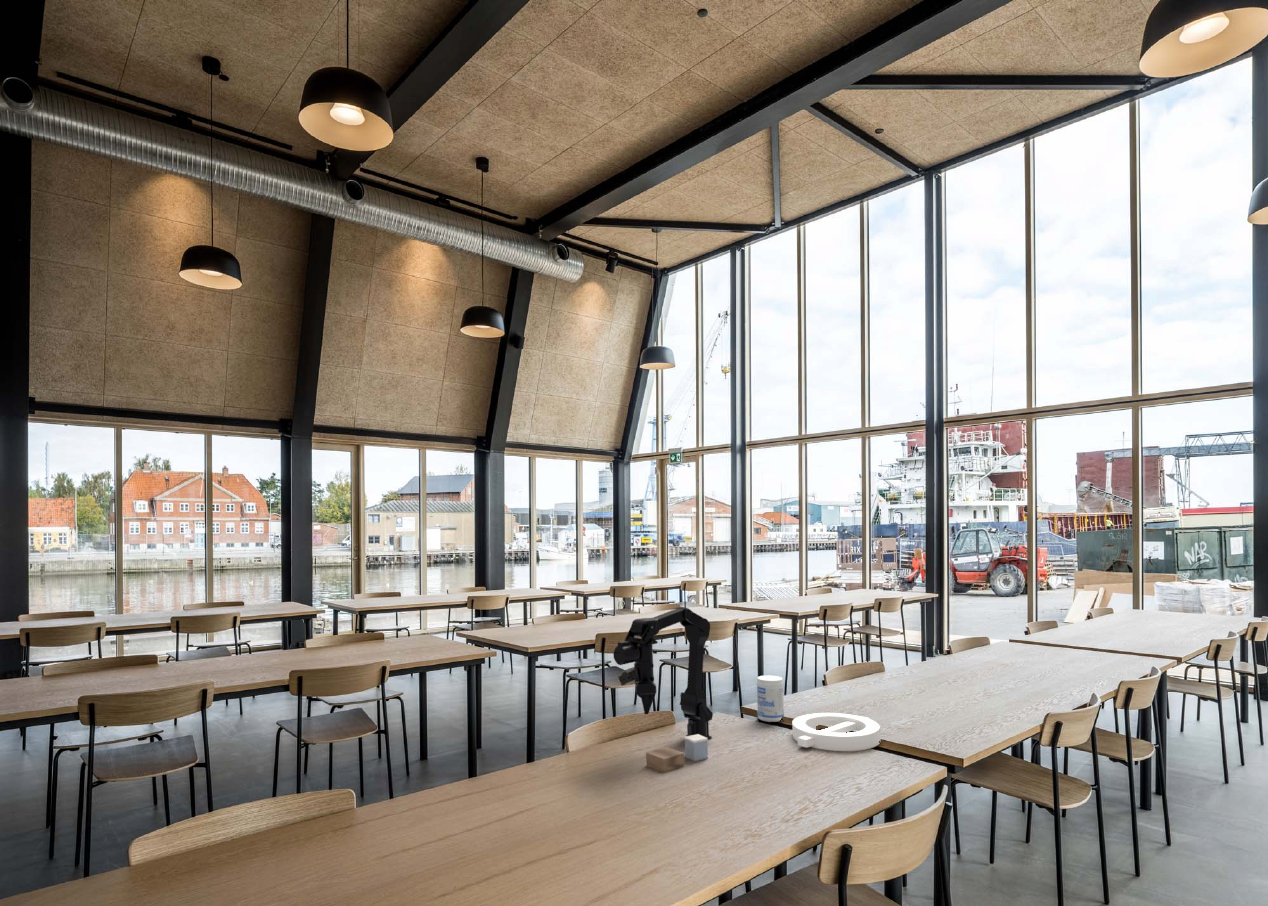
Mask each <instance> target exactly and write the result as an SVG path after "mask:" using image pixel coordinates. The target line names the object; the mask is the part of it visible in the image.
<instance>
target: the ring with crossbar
mask: <svg viewBox="0 0 1268 906" xmlns="http://www.w3.org/2000/svg"><path fill="white" fill-rule="evenodd" d="M791 723H792V725H791V726H792V738H793V739H794V740H795V741H796V742H797V746H799V747H803V748H810V747H811V748H814V749H820V750H826V751H836V752H857V751H858V752H859V751H864V750H868V749H872V748H875V747H877V746H878V745H880V743H879V741H880V742H881V728H880V724H879V723H878V722H876V721H875V720H873V719H871V718H870V717H868V716H867V717H866V716H860V715H856V714H849V713H839V712H817V713H809V714H803V715H799V716H797V717H795V718H794V719H792V722H791ZM818 725H834V726H831V727H828V728H825V729H821V730H816V726H818ZM852 730H860V731H856V732H849V731H852ZM846 732H847V733H846Z"/></svg>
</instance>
